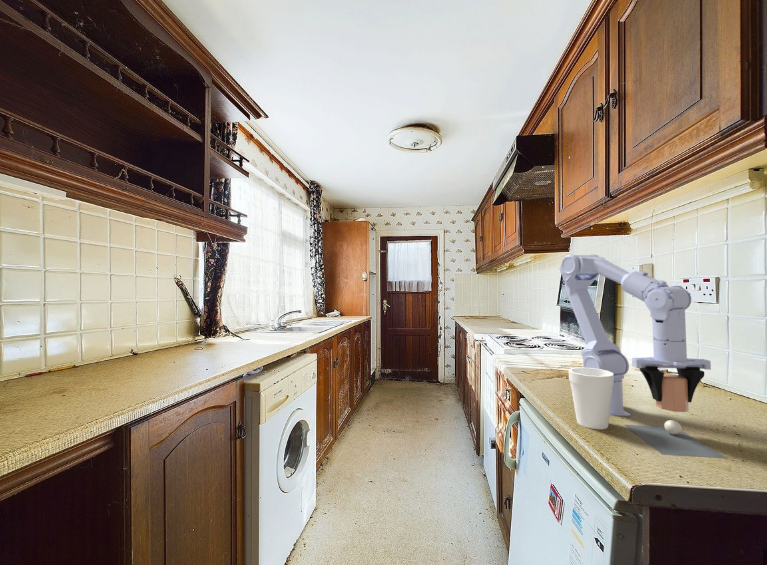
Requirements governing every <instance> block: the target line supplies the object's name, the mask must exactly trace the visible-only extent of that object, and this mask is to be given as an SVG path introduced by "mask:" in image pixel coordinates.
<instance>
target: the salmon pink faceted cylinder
mask: <svg viewBox="0 0 767 565" xmlns="http://www.w3.org/2000/svg"><path fill="white" fill-rule="evenodd" d="M655 406H656V407H657V408H659V409H661V410H665V411H669V412H674V413H687V412H688V411H690V410H689V406H690V405H689V402H688V382H687V379H686V377H683V376H679V375H678V374H674V373H673V374H672V373H664V376H663V381H662V401H656V400H655Z"/></svg>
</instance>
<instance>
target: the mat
mask: <svg viewBox="0 0 767 565" xmlns="http://www.w3.org/2000/svg"><path fill="white" fill-rule="evenodd" d="M623 426H624V427H625V428H627V429H628V430H629V431H630V432H632V433H633V434H635V435H636V436H638V437H639V438H640V439H641V440H642V441H644V442H645V443H647V444H648V445H649V446H651V447H652V448H654V449H655V450H656V451H658V452H659V453H660V454H661V455H666V456H681V457H682V456H683V457H701V458H714V459H715V458H716V459H718V458H719V459H728V457H726V456H725V455H723V454H721V453H719V452H718V451H716V450H714V449H713V448H711V447H710V446H708V445H706V444H705V443H703V442H702V441H699V440H698V439H696V438H694V437H692V436H691V435H689V434H687V433H686V432H684V431H683V430H682V431H681V433H680V434H678V435H673V434H670V433H668V432H667V431H666V429H665V427H664V426H661V425H660V426H659V425H640V424H639V425H637V424H623Z"/></svg>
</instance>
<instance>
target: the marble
mask: <svg viewBox="0 0 767 565" xmlns="http://www.w3.org/2000/svg"><path fill="white" fill-rule="evenodd" d="M663 425H664V427H665V429H666V431H667V432H668V433H670V434H673V435H678V434H680V433H681V431H683V428H682V426H681V424H680V423H679V422H677V421H676V420H672V419H671V420H670V419H669V420H666V421H665V422H664V424H663Z"/></svg>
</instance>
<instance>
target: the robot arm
mask: <svg viewBox="0 0 767 565" xmlns="http://www.w3.org/2000/svg"><path fill="white" fill-rule="evenodd" d="M558 268H559V271H560V273H561V276H562V279H563V282H564V290H565V293H566V294H567V297H568V300H569V303H570V305H571V308H572V311H573V313H574V316H575V319H576V320H577V321H576V322H577V324H578V326H579V329H580V332H581V334H582V337H583V338H584V342H585V344H586V345H585V346H584V348H583V350H582V351H580V354H581V356H582V368H595V369H602V370H606V371H609V372H612V373H613V375H614V385H613V388H612V397H611V405H610V414H609V416H627V417H628V416H629V417H631V416H632V415H631V413H629V412H628V411H626V410H624V391H623V380H624V379H625V375H626V374H628V372H629V369H630V364H629V360H628V358H627V357H626V356H625V355H624V354H623V352H622V351H621V349H620V347H619V346H618V345H617V344H615V343H613V342H611V341H610V340H609V339H608V336H607V333H606V331H605V329H604V326H603V324H602V321H601V318H600V316H599V314H598V312H597V309H596V307H595V304H594V302H593V300H592V298H591V294H590V293H589V290H588V289H589V286H591V285H592V284H593V283H594V281H595V280H596V279H597V278H598V276H599V275H600V276H602V277H605V278H606V279H608V280H611V281H613V282H615V283H618V284H620V285H621V289H622V291H623V292H625V293H628V294H629V295H631V296H633V297H634V298H636V299H639V300H640V301H642V302H644V304H645V306H646V308H648V310H649V312H650V317H651V319H652V320H651V322H652V343H653V345H652V346H653V347H652V348H653V356H650V357H649V356H648V357H631V366H632V367H633V368H635V369H639V371H640V372H641V374H642V376H643V377H644V379H645V380H646V383H647V385H648V388H649V390H650V392H651V396H652V399H653V400H654V401H655V402H656V401H662V381H663V376H664V374H665V373H664V372H663V371H660V369H676V371H677V375H679V376H683V377H686V379H687V382H688V403H692V401H693V397H694V394H695V391H696V389H697V387H698V385H699V383H700V382H701V381H702V379H703V378H704V377H705V371H703V370H712V368H711V366H712V365H711V364H712V363H711V362H712V361H711V360H708V359H704V358H688V354H687V351H688V349H687V329H686V328H687V327H686V310H687V309H689V307H690V306H691V304H692V296H691V294H690V292H689V291H688V290H687V289H686V288H684V287H683V286H682V285H671V286H669V284H667V283H668V282H667V281H665V280H658V279H656V278H653V277H652V276H649V272H646V271H644V270H639V271H638V270H637V271H636V270H635V271H632V272H629V271H628V270H625V269H623V268H622V267H619V266H618V265H616V264H614V263H613V262H610V261H609V260H607V259H606V258H605V257H603V256H599V255H597V254H573V253H572V254H567V255H565V256H564V257H563V259H562V260H561V263H560V265H559V267H558Z"/></svg>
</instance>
